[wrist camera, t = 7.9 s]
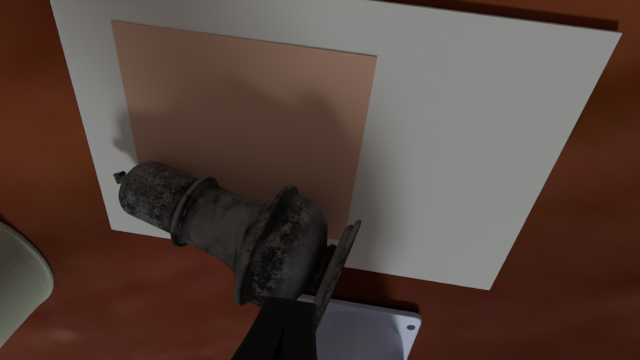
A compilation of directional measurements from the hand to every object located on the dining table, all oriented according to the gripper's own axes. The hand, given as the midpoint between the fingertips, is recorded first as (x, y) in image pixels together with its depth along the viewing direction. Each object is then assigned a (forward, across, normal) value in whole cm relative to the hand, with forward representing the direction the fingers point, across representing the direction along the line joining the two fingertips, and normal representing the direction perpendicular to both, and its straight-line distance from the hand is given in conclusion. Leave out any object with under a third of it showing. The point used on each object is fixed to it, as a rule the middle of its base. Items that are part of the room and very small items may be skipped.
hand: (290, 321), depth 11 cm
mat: (+9, +1, 0) cm, 9 cm away
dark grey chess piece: (+5, -2, +4) cm, 7 cm away
